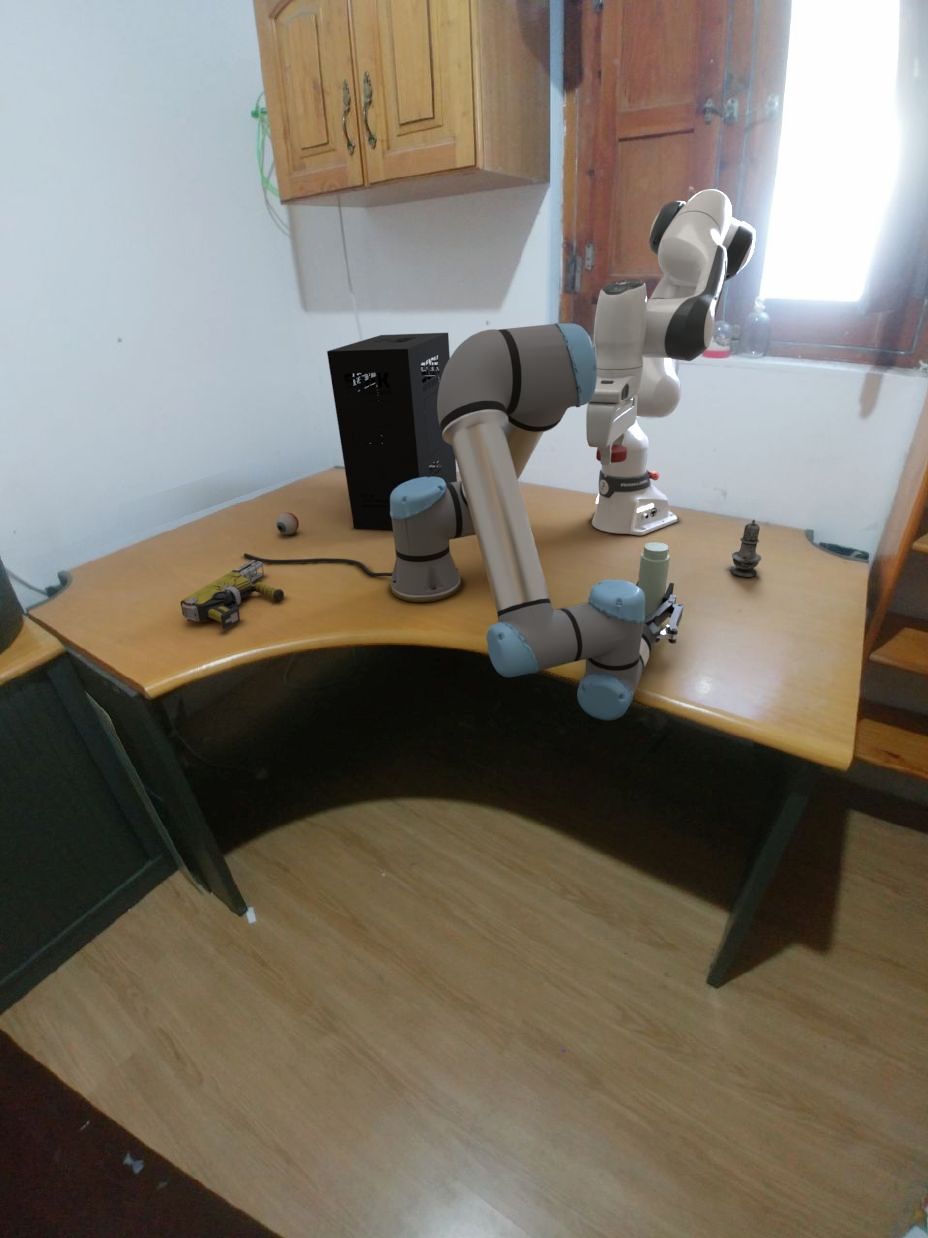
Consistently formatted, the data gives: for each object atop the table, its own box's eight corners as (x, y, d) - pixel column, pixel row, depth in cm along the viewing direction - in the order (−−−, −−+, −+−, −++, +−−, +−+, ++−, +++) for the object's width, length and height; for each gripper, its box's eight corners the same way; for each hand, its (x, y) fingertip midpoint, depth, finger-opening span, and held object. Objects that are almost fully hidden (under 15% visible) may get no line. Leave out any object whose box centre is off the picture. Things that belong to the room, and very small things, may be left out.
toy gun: (305, 569, 137) (249, 557, 141) (237, 616, 117) (174, 600, 121) (306, 587, 139) (251, 575, 143) (240, 636, 119) (178, 621, 123)
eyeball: (273, 537, 164) (268, 516, 161) (287, 528, 169) (282, 508, 166) (291, 539, 161) (286, 518, 158) (305, 530, 166) (301, 510, 163)
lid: (590, 457, 117) (590, 447, 116) (614, 453, 119) (615, 442, 118) (607, 464, 113) (607, 454, 112) (632, 459, 114) (633, 449, 113)
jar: (665, 630, 113) (676, 548, 104) (645, 637, 111) (655, 554, 103) (647, 619, 116) (657, 539, 108) (627, 626, 115) (636, 545, 106)
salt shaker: (760, 577, 128) (772, 524, 122) (731, 576, 130) (741, 524, 124) (755, 566, 133) (766, 514, 127) (726, 565, 135) (736, 514, 129)
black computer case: (424, 530, 162) (407, 348, 139) (353, 528, 166) (326, 351, 144) (457, 486, 193) (448, 332, 171) (397, 485, 198) (380, 334, 175)
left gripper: (571, 656, 102) (607, 596, 120) (681, 680, 95) (702, 612, 113) (573, 618, 99) (610, 562, 116) (687, 640, 91) (708, 576, 109)
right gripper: (615, 373, 118) (610, 444, 125) (581, 393, 103) (577, 472, 110) (648, 373, 115) (641, 446, 122) (617, 394, 100) (612, 476, 107)
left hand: (655, 587), depth 115 cm, fingers closed on jar, 5 cm apart
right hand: (611, 459), depth 116 cm, fingers closed on lid, 5 cm apart
